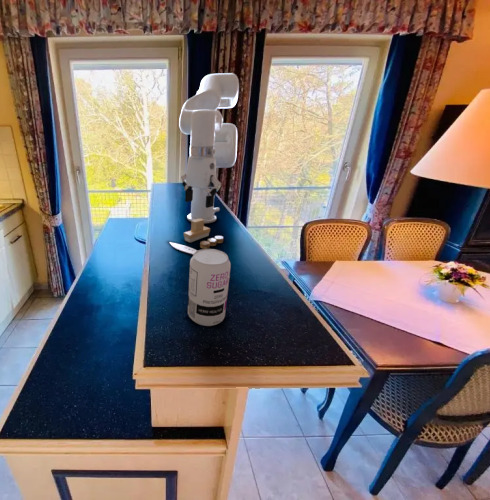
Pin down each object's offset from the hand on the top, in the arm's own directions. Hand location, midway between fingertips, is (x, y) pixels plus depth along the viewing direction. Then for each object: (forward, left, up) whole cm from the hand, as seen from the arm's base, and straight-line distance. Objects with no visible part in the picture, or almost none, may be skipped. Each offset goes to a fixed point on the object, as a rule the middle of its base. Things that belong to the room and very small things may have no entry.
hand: (198, 204), depth 97 cm
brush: (0, 0, -13) cm, 13 cm away
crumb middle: (0, +7, -13) cm, 15 cm away
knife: (+12, +11, -13) cm, 21 cm away
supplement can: (+31, +32, -13) cm, 46 cm away
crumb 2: (-4, +7, -13) cm, 15 cm away
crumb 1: (+3, +7, -13) cm, 15 cm away
